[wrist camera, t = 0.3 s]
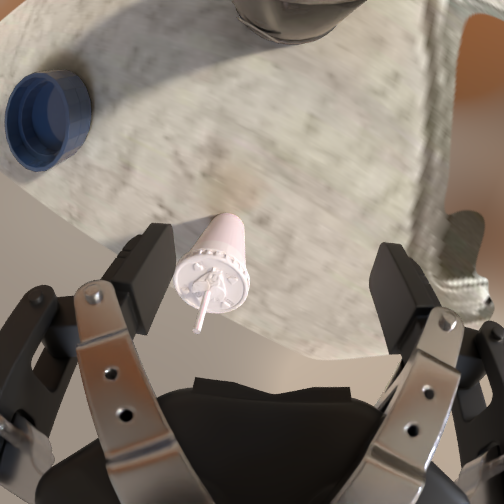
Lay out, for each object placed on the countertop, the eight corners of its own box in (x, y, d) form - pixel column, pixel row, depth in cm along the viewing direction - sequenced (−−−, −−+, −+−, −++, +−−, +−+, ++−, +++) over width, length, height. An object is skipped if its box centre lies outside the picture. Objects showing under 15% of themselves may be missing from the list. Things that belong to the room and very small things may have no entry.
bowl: (26, 81, 21) (1, 87, 18) (92, 59, 21) (66, 60, 17) (35, 161, 28) (13, 175, 24) (99, 154, 27) (76, 168, 23)
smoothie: (192, 240, 33) (150, 336, 21) (208, 192, 29) (162, 280, 17) (244, 260, 33) (227, 362, 22) (266, 214, 30) (257, 313, 18)
